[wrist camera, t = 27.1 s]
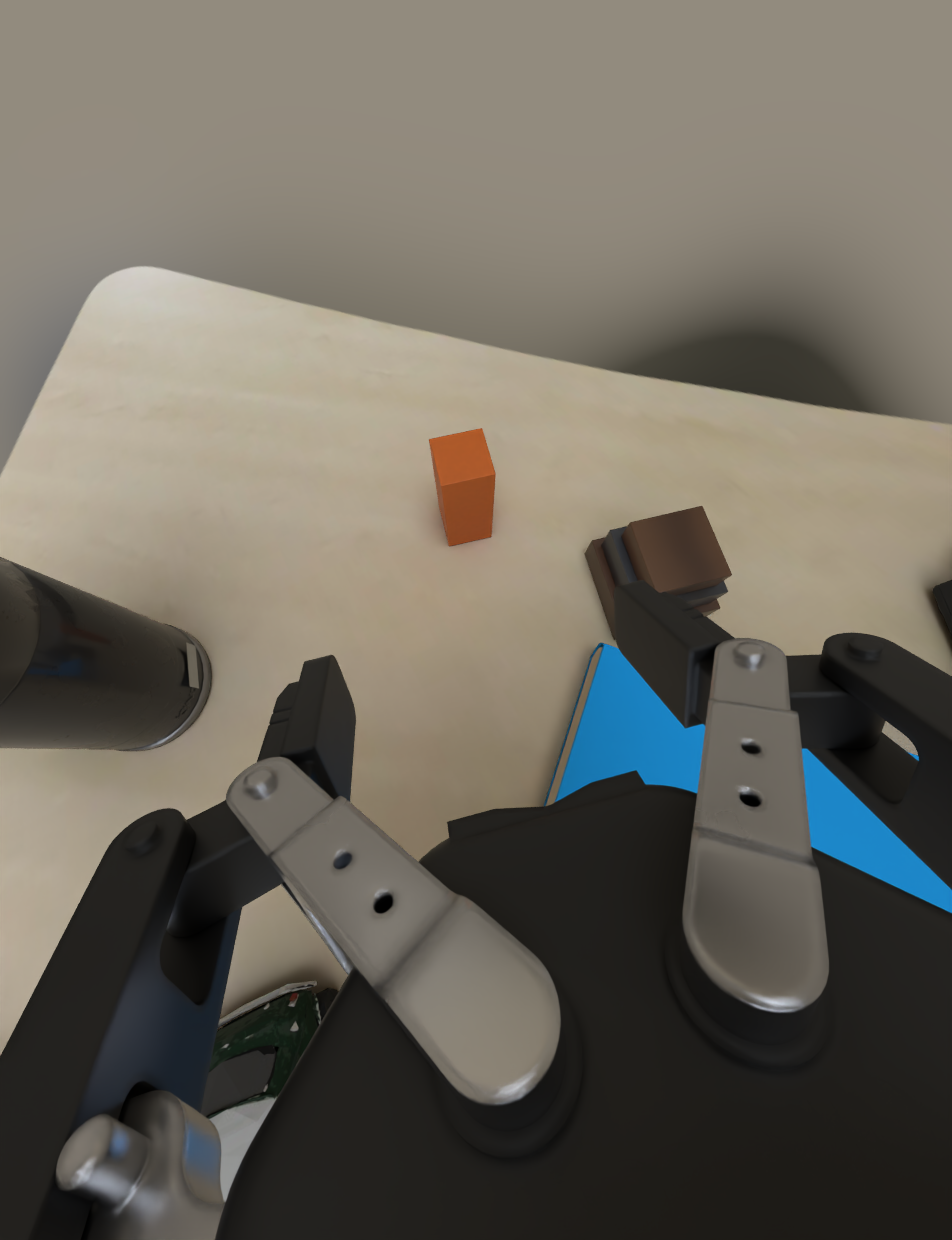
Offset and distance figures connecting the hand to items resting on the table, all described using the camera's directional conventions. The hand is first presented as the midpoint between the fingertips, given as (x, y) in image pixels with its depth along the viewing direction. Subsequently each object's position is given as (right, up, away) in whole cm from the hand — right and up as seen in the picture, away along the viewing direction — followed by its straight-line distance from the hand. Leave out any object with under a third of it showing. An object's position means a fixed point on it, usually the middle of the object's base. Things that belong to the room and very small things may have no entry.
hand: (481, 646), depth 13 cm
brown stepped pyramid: (+13, +4, +24) cm, 28 cm away
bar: (-1, +9, +26) cm, 27 cm away
